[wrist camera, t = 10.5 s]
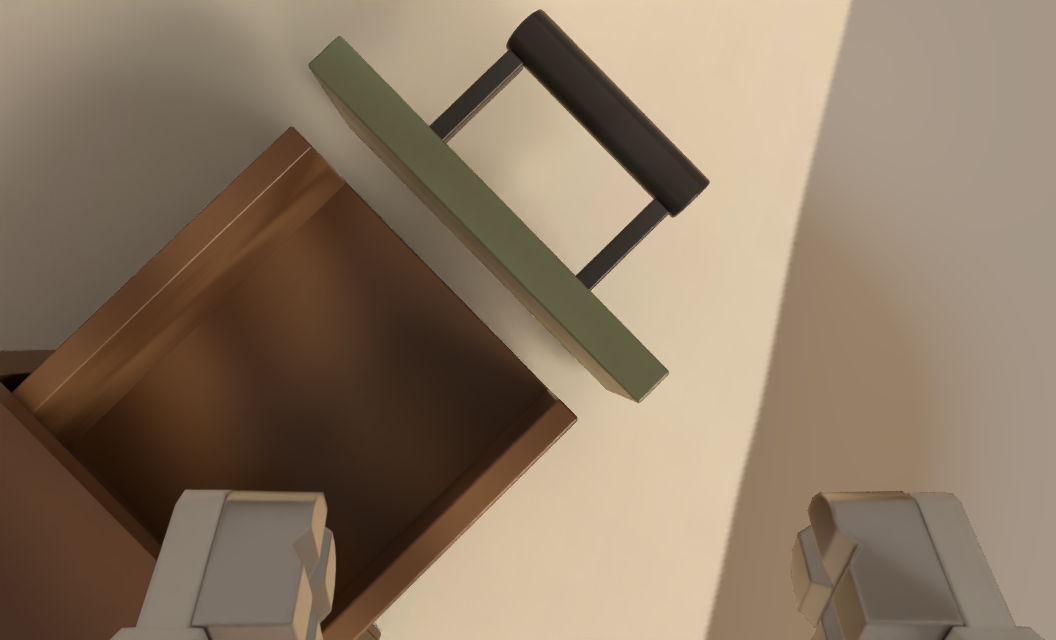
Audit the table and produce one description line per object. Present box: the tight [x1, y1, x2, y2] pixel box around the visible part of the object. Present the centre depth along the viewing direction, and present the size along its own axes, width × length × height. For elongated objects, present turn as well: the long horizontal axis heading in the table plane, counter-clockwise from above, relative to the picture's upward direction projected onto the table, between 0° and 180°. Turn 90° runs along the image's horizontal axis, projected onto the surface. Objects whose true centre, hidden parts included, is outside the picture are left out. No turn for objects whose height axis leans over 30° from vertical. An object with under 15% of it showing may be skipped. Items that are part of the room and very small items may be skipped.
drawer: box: [12, 10, 710, 640], centre depth 27 cm, size 20×13×7 cm, turn 134°
